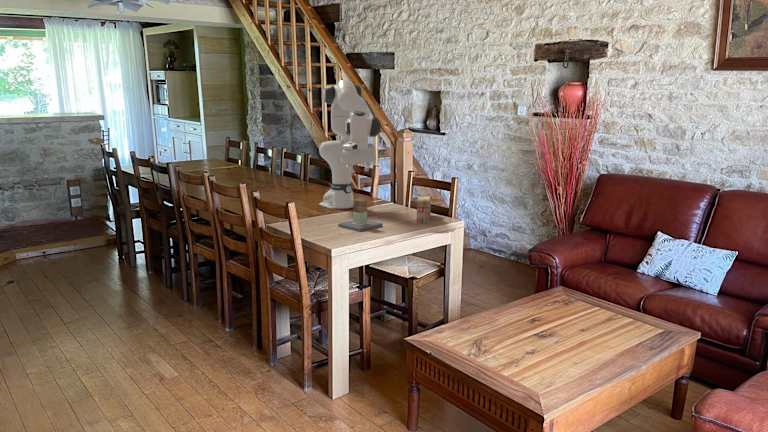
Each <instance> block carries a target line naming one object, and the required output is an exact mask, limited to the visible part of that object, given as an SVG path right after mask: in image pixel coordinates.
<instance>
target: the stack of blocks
mask: <svg viewBox="0 0 768 432" xmlns="http://www.w3.org/2000/svg"><path fill="white" fill-rule="evenodd" d="M431 207H432V205H431V196H421V195H420V196H418V197H417V200H416V224H424V225H426V224H429V223H430V218H431V211H432V209H431Z"/></svg>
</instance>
